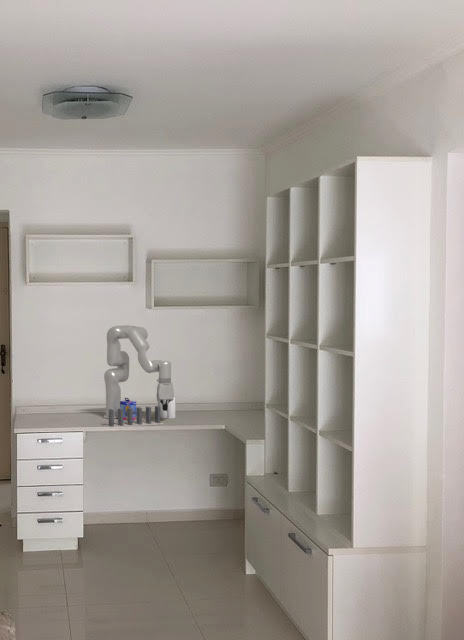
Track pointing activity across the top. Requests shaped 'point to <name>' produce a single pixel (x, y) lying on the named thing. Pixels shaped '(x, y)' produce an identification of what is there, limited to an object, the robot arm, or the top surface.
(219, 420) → the top surface
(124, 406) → the ink cartridge box
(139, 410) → the domino
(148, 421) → the domino
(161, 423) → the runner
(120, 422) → the domino
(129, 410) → the domino
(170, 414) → the white tube cluster
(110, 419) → the domino
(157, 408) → the domino
